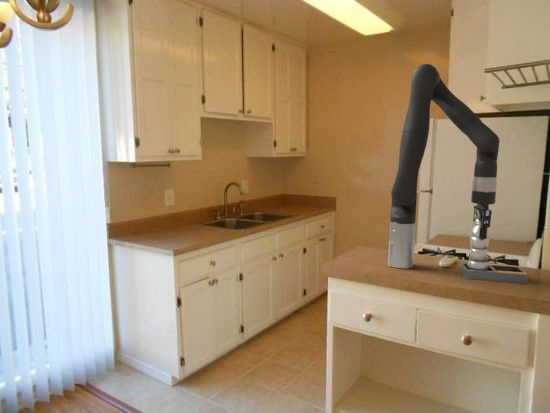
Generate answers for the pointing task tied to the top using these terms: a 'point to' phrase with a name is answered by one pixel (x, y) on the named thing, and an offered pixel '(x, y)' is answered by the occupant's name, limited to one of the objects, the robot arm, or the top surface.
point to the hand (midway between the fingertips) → (480, 236)
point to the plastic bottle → (478, 249)
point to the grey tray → (496, 273)
